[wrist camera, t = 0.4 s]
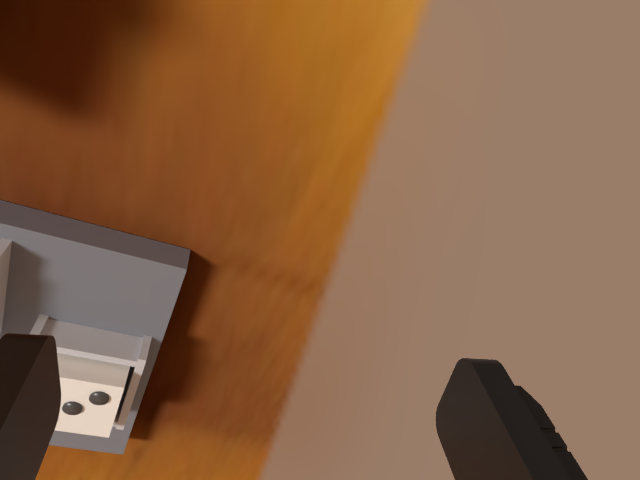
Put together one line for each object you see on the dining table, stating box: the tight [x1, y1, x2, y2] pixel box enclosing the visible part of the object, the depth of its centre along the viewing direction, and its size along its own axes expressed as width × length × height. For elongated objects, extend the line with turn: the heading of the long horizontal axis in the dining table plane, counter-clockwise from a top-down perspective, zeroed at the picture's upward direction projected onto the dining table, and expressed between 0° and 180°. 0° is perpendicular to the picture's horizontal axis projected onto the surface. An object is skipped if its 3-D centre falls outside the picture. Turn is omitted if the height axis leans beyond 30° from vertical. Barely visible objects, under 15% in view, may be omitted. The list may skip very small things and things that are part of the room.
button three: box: [55, 353, 130, 438], centre depth 30 cm, size 5×5×2 cm
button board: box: [0, 200, 190, 454], centre depth 31 cm, size 19×17×4 cm
